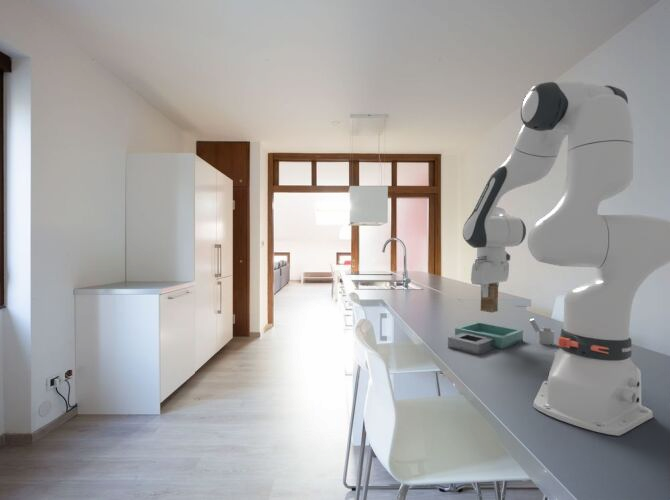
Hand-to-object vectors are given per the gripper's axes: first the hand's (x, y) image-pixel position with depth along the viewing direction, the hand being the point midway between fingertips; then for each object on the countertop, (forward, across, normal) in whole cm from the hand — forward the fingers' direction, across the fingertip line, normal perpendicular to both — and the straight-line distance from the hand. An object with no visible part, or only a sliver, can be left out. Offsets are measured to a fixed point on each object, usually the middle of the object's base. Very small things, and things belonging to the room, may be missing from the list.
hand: (489, 296), depth 119 cm
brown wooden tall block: (+5, 0, 0) cm, 5 cm away
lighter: (+15, +10, -13) cm, 22 cm away
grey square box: (+15, -14, -1) cm, 21 cm away
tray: (+15, 0, 0) cm, 15 cm away
